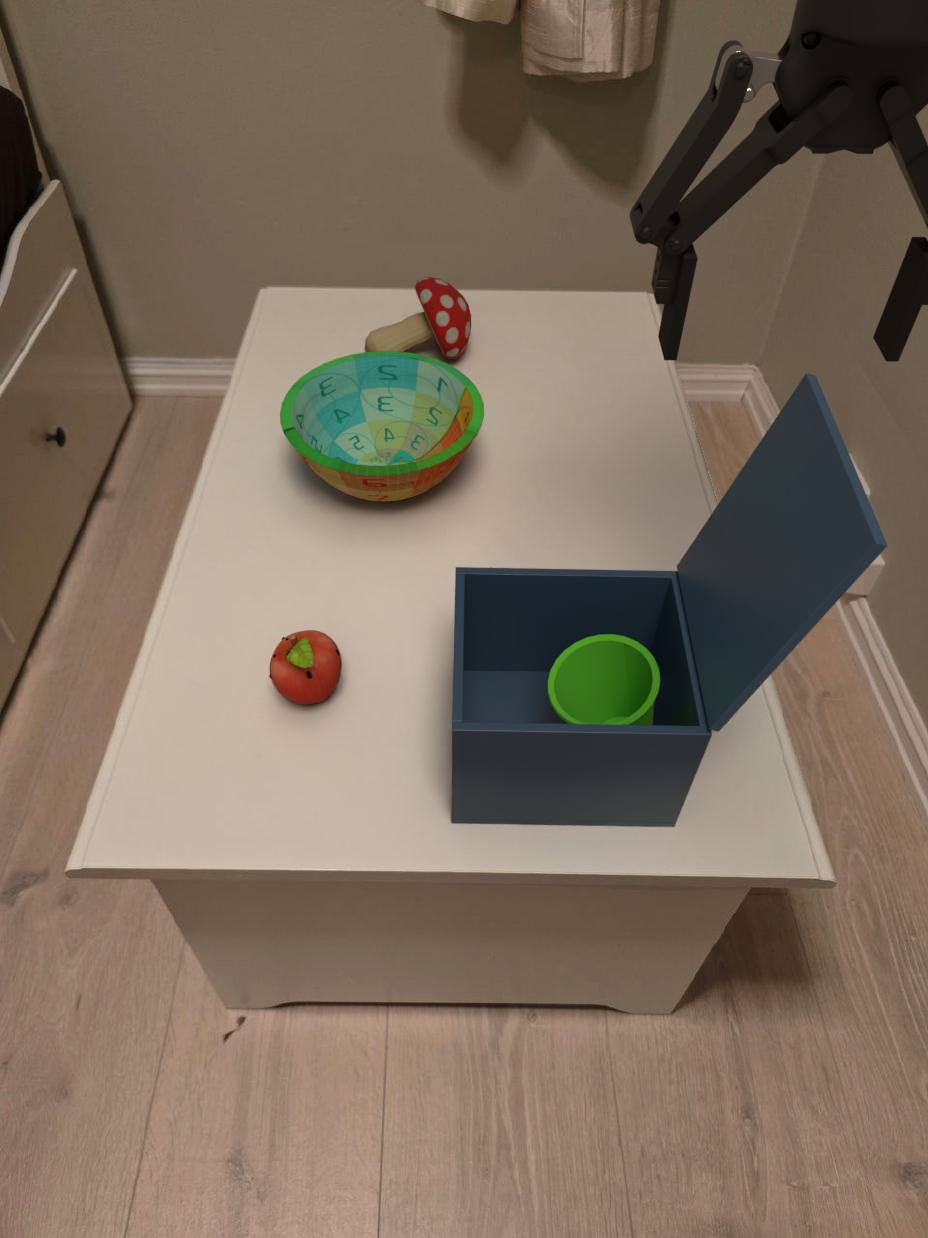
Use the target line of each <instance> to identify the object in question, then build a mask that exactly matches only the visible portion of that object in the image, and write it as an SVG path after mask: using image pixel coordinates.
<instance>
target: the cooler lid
mask: <svg viewBox="0 0 928 1238" xmlns="http://www.w3.org/2000/svg"><path fill="white" fill-rule="evenodd" d="M883 533H884V532H883V531H882V528H881V526H880V524H879V522H878V518H877V517H876V514H875V512H874V510H873V507H872V504H871V502H870V500H869V497H868V496H867V493H866V491H865V488H864V486H863V483H862V481H861V479H860V477H859V474H858V472H857V470H856V467H855V465H854V462H853V460H852V458H851V456H850V452H849V450H848V448H847V446H846V443H845V441H844V439H843V436H842V434H841V432H840V429H839V427H838V424H837V423H836V420H835V417H834V415H833V413H832V411H831V408H830V406H829V403H828V400H827V399H826V396H825V394H824V392H823V389H822V387H821V385H820V382H819V380H818V378H817V376H816V375H815V374H812V373H811V374H810V373H807V372H806V373H805V374H804V376H802V378H801V380H800V381H799V383H798V385H797V386H796V388H795V389H794V391H792V394H791V395H790V396H789V398H788V400H787V401H786V403H785V404H784V405H783V407H782V408H781V410H780V411H779V413H778V414H777V416H776V417H775V419H774V420H773V422H772V423H771V425H770V426H769V427H768V429H767V430H766V432H765V433H764V435H763V436H762V438H761V439H760V441H759V442H758V444H757V446H756V447H755V449H753V451H752V453H751V455H750V456H749V458H748V459H747V460H746V461H745V464H744V465H743V466H742V468H741V469H740V471H739V472H738V474H737V476H736V477H735V478H734V479H733V482H732V483H731V484H730V486H729V487H728V489H727V490H726V492H725V493H724V495H723V496H722V497H721V499H720V500H719V502H718V504H717V505H716V507H715V508H714V510H713V511H712V513H711V514H710V515H709V517H708V518H707V520H706V522H705V523H704V524H703V526H702V527H701V529H700V530H699V532H698V533H697V535H696V537H695V538H694V539H693V541H692V543H691V544H690V545H689V547H688V548H687V550H686V551H685V553H684V554H683V556H682V557H681V559H680V560H679V562H678V563H677V565H676V571H678V576H679V581H680V586H681V591H682V596H683V601H684V606H685V611H686V616H687V621H688V626H689V631H690V636H691V641H692V646H693V651H694V656H695V661H696V666H697V671H698V676H699V681H700V686H701V691H702V696H703V701H704V706H705V711H706V716H707V721H708V726H709V730H711V732H712V731H713V732H718V733H719V732H720V731H721V730H722V729H724V727H725V726H726V725H727V724H728V722H729V721H730V720H731V719H732V718H733V717H734V716H735V715H736V714H737V712H739V710H740V709H741V708H742V707H743V705H745V704H746V702H747V701H749V699H750V698H751V697H752V696H753V695H754V694H755V692H756V691H757V690H759V688H760V687H761V686H762V685H763V684H764V682H766V681H767V679H768V678H769V677H770V676H772V674H773V673H774V671H775V670H777V668H778V667H779V666H780V665H781V664H782V663H783V661H785V660H786V658H787V657H788V656H789V655H790V654H791V653H792V652H793V651H794V650H795V648H796V647H797V646H798V645H799V644H800V643H801V642H802V641H803V640H804V639H805V637H806V636H808V634H809V633H811V631H812V630H813V628H814V627H816V625H817V624H818V623H819V622H820V621H821V620H822V619H823V618H824V616H825V615H827V613H828V612H829V611H830V610H831V609H832V608H833V607H834V605H835V604H836V603H837V602H838V601H839V600H840V599H841V598H842V596H844V594H845V593H846V592H848V590H849V589H850V588H851V587H852V586H853V584H855V582H856V581H857V580H858V579H859V578H861V576H862V575H863V573H864V572H866V570H867V569H868V568H869V567H870V566H871V565H872V563H874V562H875V560H876V559H877V558H878V557H879V556H880V555H881V554H882V553H883V552H884V550H885V549H886V548H887V547H888V543H887V541H886V537H885V536H884V534H883Z"/></svg>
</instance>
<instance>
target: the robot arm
mask: <svg viewBox="0 0 928 1238" xmlns="http://www.w3.org/2000/svg"><path fill="white" fill-rule="evenodd" d="M788 33H789V34H788V35H787V38H786V39H785V41H784V44H783V45H782V46H781V48H780V49H779V50H778V52H777V53H772V52H766V51H758V50H750V49H746V48H744V46H743V44H742V43H741V42H740V41H739V40H736V39H731V40H728V41H726V42H725V43H724V44H723V45H722V46H721V48H720V50H719V52H718V55H717V58H716V62H715V65H714V68H713V72H712V76H711V79H710V83H709V85H708V89H707V91H706V92H705V94H704V95H703V97H702V98H701V99H700V102H699V103H698V104H697V106H696V107H695V109H694V111H693V113H691V115H690V117H689V118H688V120H687V121H686V123H685V125H684V126H683V128H682V129H681V131H680V133H679V134H678V136H677V137H676V139H675V140H674V142H673V143H672V145H671V146H670V148H669V149H668V151H667V153H666V154H665V156H664V158H663V159H662V160H661V162H660V163H659V165H658V166H657V168H656V170H655V171H654V173H653V174H652V176H651V178H650V179H649V181H648V183H647V184H646V185H645V187H644V189H643V191H642V192H641V194H640V195H639V197H638V198H637V199H636V201H635V203H634V204H633V206H632V208H631V209H630V211H629V221H630V224H631V227H632V228H631V229H632V233H633V236H634V238H635V241H636V242H637V243H639V244H640V245H648V244H650V245H653V246H655V247H656V254H655V260H654V266H653V270H652V271H653V272H652V277H651V282H650V283H651V289H652V292H653V296H654V301H655V305H663V308H662V314H661V319H660V326H659V330H658V335H657V338H658V341H659V345H660V349H661V354H662V357H663V360H664V361H678V356H679V351H680V347H681V346H680V345H681V341H682V335H683V331H684V326H685V321H686V317H687V313H688V307H689V302H690V298H691V294H692V293H691V292H692V287H693V285H694V284H693V283H694V278H695V274H696V269H697V263H698V260H699V257H698V254H697V252H696V249H695V246H694V242H696V241H697V240H698V239H699V238H700V237H701V236H702V235H703V234H705V232H707V230H709V229H710V228H711V227H712V226H713V225H714V224H715V223H716V222H717V221H718V220H720V218H721V217H722V216H724V215H725V214H726V213H727V212H728V211H729V210H730V209H731V208H732V207H733V206H735V204H736V203H738V202H739V201H740V200H741V199H742V198H743V197H744V196H745V195H746V194H747V193H748V192H749V191H751V190H752V189H753V188H754V186H756V185H757V184H758V183H759V182H760V181H761V180H762V179H763V178H765V177H766V176H767V175H768V174H769V173H770V172H771V171H772V170H773V169H774V168H775V167H776V166H778V165H783V164H785V163H787V162H788V161H789V160H790V159H792V158H793V157H794V156H795V155H796V154H797V153H798V152H799V151H800V150H801V149H802V148H803V147H804V148H806V149H807V150H810V152H811V154H813V155H822V154H824V155H828V154H832V153H837V152H841V151H847V152H850V153H854V154H857V155H873V154H874V151H875V150H877V149H879V148H881V147H883V146H885V145H887V144H888V146H889V148H890V150H891V152H892V154H893V156H894V158H895V160H896V163H897V165H898V167H899V169H900V172H901V173H902V176H903V178H904V180H905V182H906V184H907V187H908V189H909V192H910V193H911V196H912V197H913V201H914V202H915V204H916V207H917V209H918V211H919V213H920V215H921V217H922V219H923V220H922V221H923V222H924V224H925V226H926V228H927V229H928V141H927V140H926V137H925V135H924V133H923V130H922V128H921V125H920V123H919V121H918V119H917V115H918V114H919V113H920V112H921V111H923V110H924V108H926V106H928V0H796V4H795V7H794V12H793V15H792V21H791V26H790V30H789V32H788ZM770 83H772V86H773V88H774V91H775V93H776V95H777V98H778V100H777V101H776V102H775V103H774V104H773V105H772V106H771V107H769V108H768V110H766V111H765V113H764V114H763V115H761V117H760V118H759V119H758V120H756V123H755V125H754V127H753V129H752V131H751V132H750V133H749V134H747V136H746V137H745V138H744V139H742V141H741V142H739V144H738V145H736V146H735V148H733V149H732V151H730V152H729V154H727V155H726V156H725V157H724V158H723V159H722V160H721V161H720V162H719V163H718V164H717V165H716V166H715V167H714V168H713V169H712V170H711V171H710V172H709V173H708V174H706V176H705V177H704V178H703V179H702V180H701V181H700V182H699V183H698V184H697V185H696V186H695V187H693V188H692V190H690V192H689V193H687V192H688V190H689V189H690V187H691V186H692V184H693V183H694V181H696V178H697V177H698V176H699V174H700V173H701V171H702V170H703V168H704V167H705V165H706V164H707V162H708V161H709V159H710V158H711V156H712V155H713V154H714V152H715V150H716V148H718V147H719V144H720V143H721V142H722V140H723V139H724V137H725V136H726V134H727V133H728V132H729V130H730V128H731V127H732V125H733V124H734V122H735V120H736V118H737V116H738V114H739V112H740V110H741V108H742V105H743V104H747V103H750V102H752V101H753V100H754V98H755V97H756V96H757V94H758V93H759V91H760V89H761V88H762V87H764V86H765V85H767V84H770ZM686 193H687V194H686ZM923 306H928V239H927V238H926V236H911V239H910V240H909V244H908V246H907V248H906V252H905V254H904V257H903V260H902V262H901V264H900V267H899V270H898V272H897V274H896V277H895V279H894V282H893V285H892V288H891V289H890V293H889V295H888V298H887V300H886V304H885V305H884V308H883V310H882V314H881V316H880V318H879V321H878V324H877V326H876V329H875V331H874V334H873V337H872V338H873V340H874V342H875V344H876V346H877V348H878V349H879V351H880V353H881V355H882V357H883V359H884V361H885V362H895V363H896V362H897V363H898V362H899V361H900V358H901V356H902V354H903V352H904V349H905V347H906V345H907V343H908V339H909V337H910V335H911V333H912V330H913V327H914V326H915V323H916V321H917V318H918V316H919V314H920V312H921V309H922V307H923Z"/></svg>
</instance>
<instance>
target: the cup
mask: <svg viewBox="0 0 928 1238" xmlns="http://www.w3.org/2000/svg"><path fill="white" fill-rule="evenodd" d="M659 685H660V673H659V668H658V665H657V663H656V660H655V658H654V657H653V656H652V654H651V653H650V652H649V651H648V649H647V648H645V647H644V646H642V645H641V644H640V643H638V642H637V641H635V640H632V639H630V638H627V637H625V636H619V635H614V634H604V635H596V636H591V637H587V638H585V639H582V640H580V641H578V642H576V643H574V644H573V645H571V646H570V647H569V648H567V649H566V650H565V651H564V652H563V653H562V654H561V655H560V656H559V657H558V658H557V659H556V661H555V663H554V665H553V667H552V669H551V670H550V674H549V678H548V681H547V693H548V697H549V700H550V703H551V705H552V707H553V708H554V710H555V711H556V713H557V714H558V715H559V716H560V717H561V718H562V719H563V720H565V721H566V722H567V723H569V724H608V725H653V713H654V701H655V698H656V696H657V694H658V691H659Z"/></svg>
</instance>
